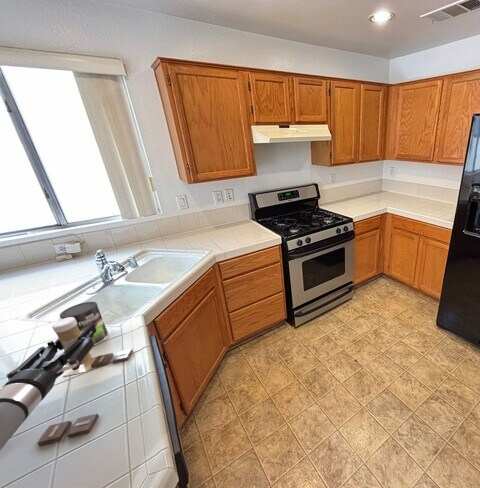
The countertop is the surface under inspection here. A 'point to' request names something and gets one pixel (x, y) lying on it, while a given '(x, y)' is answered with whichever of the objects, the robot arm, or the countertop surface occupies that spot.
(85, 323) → the coffee can
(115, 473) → the countertop surface
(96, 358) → the chocolate bar
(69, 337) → the sprinkles bottle
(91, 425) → the brown chocolate squares
